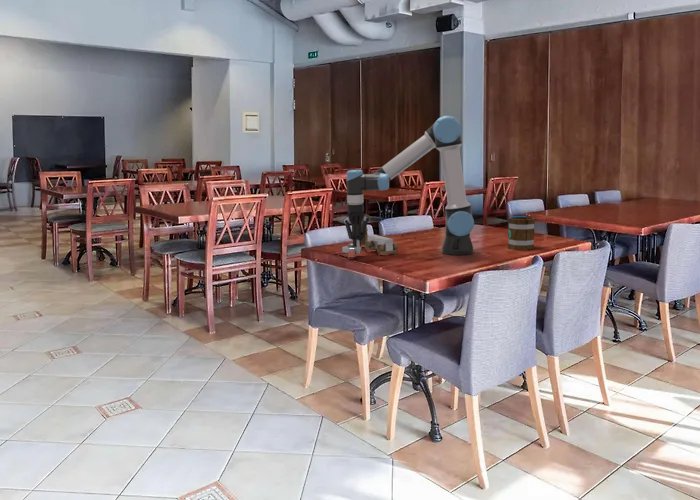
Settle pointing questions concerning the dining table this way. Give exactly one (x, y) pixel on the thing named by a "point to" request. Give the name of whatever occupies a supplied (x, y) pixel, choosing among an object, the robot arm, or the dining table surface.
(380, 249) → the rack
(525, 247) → the mug
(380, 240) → the steel bar
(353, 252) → the silver lever handle
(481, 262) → the dining table surface
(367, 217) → the bronze figurine
